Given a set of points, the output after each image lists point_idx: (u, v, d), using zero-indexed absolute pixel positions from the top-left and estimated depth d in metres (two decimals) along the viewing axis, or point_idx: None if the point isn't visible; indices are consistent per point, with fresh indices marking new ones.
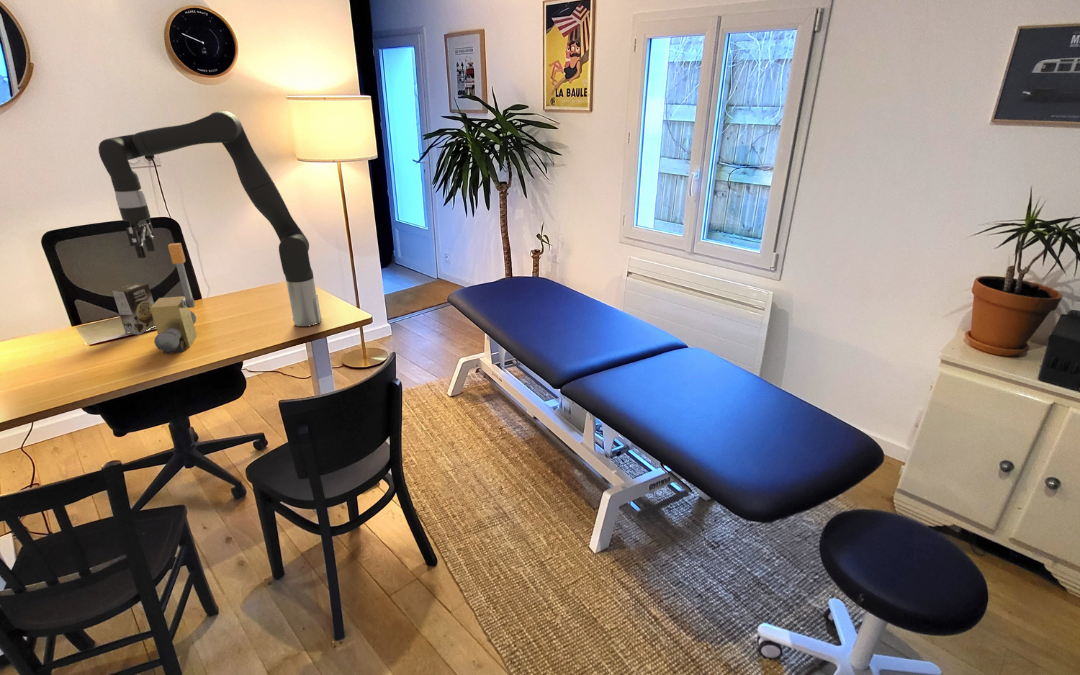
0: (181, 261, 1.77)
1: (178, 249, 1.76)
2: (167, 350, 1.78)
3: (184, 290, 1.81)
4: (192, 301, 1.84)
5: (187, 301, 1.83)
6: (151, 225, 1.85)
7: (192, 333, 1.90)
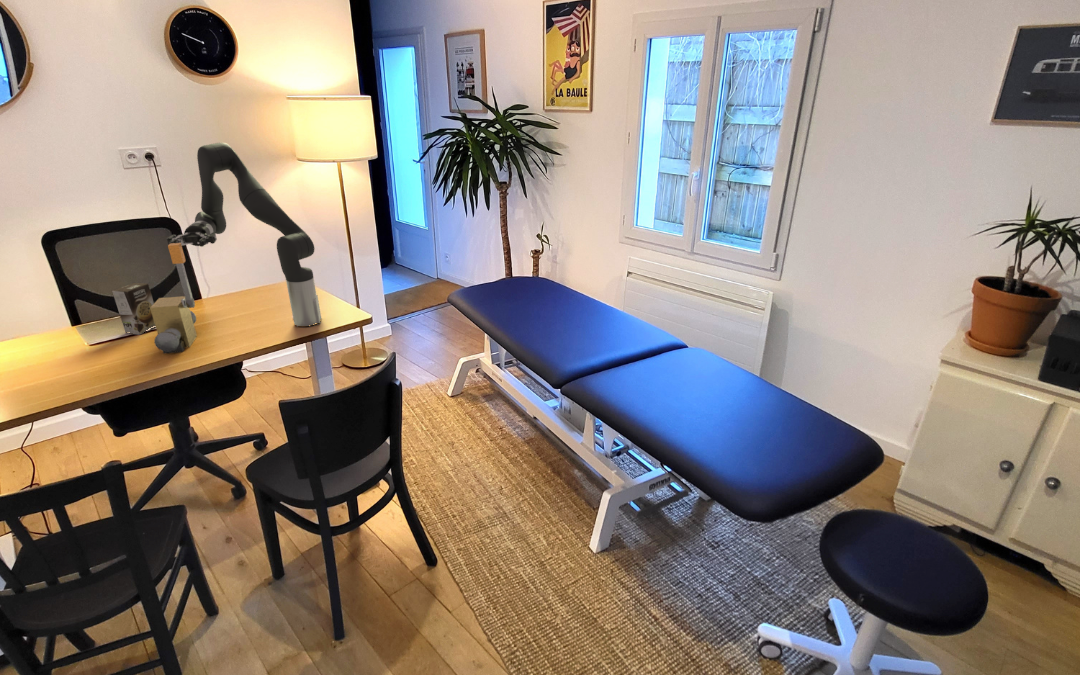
0: (181, 261, 1.77)
1: (178, 249, 1.76)
2: (167, 350, 1.78)
3: (184, 290, 1.81)
4: (192, 301, 1.84)
5: (187, 301, 1.83)
6: (213, 234, 1.95)
7: (192, 333, 1.90)
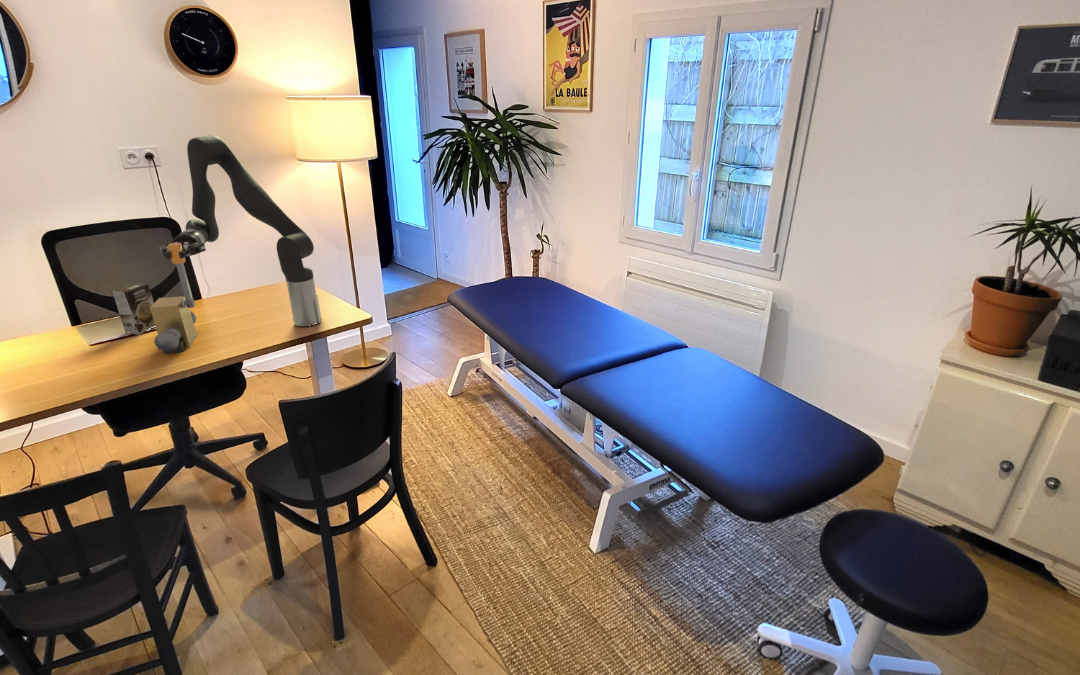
0: (181, 261, 1.77)
1: (178, 249, 1.76)
2: (167, 350, 1.78)
3: (184, 290, 1.81)
4: (192, 301, 1.84)
5: (187, 301, 1.83)
6: (199, 245, 1.82)
7: (192, 333, 1.90)
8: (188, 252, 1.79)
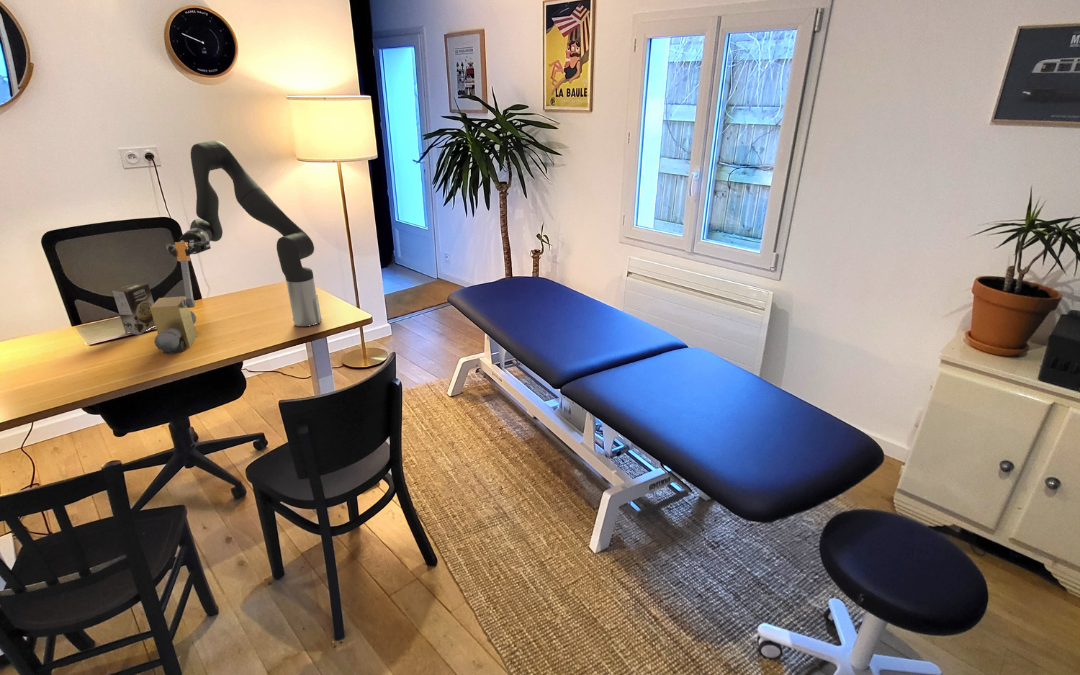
0: (186, 258, 1.82)
1: (184, 246, 1.81)
2: (167, 350, 1.78)
3: (186, 288, 1.83)
4: (192, 301, 1.84)
5: (187, 300, 1.83)
6: (204, 243, 1.88)
7: (192, 333, 1.90)
8: (194, 250, 1.84)
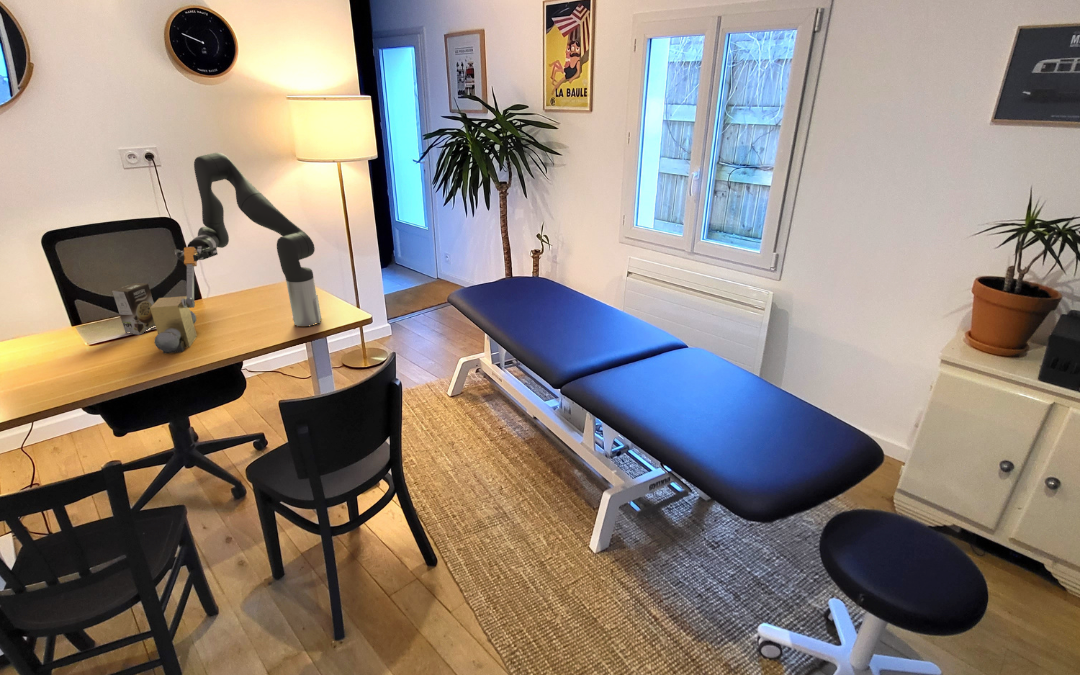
0: (192, 261, 1.87)
1: (192, 250, 1.89)
2: (167, 350, 1.78)
3: (188, 289, 1.85)
4: (192, 301, 1.84)
5: (187, 298, 1.83)
6: (211, 249, 1.95)
7: (192, 333, 1.90)
8: (201, 255, 1.91)
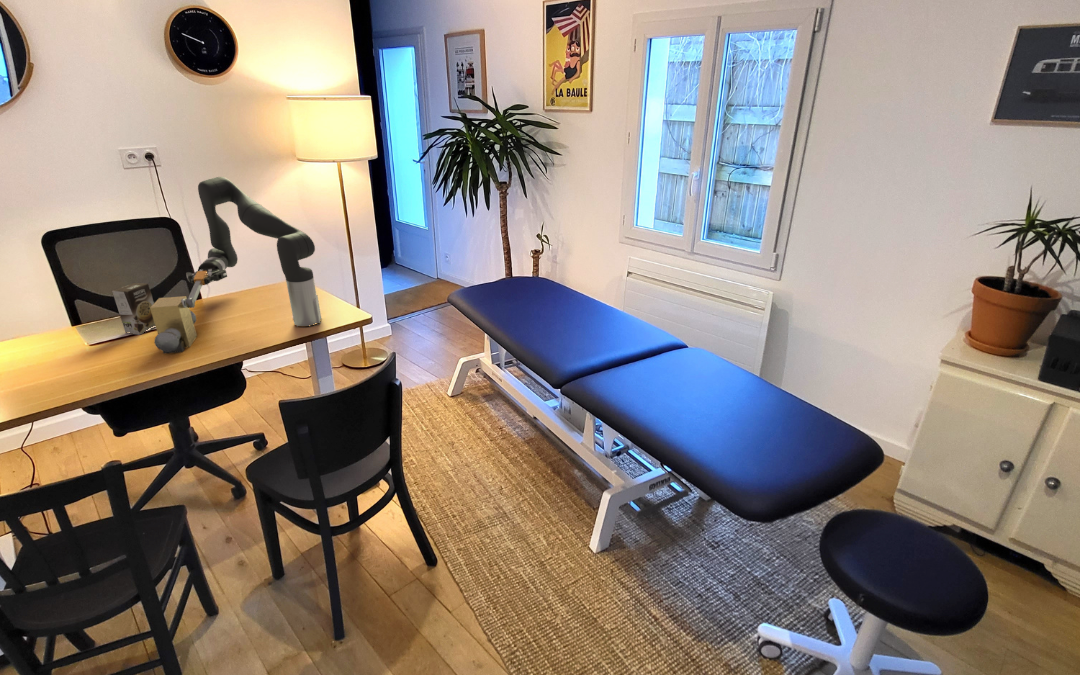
0: (202, 278, 1.95)
1: (204, 272, 1.98)
2: (167, 350, 1.78)
3: (191, 293, 1.87)
4: (193, 301, 1.85)
5: (188, 298, 1.84)
6: (221, 272, 2.03)
7: (192, 333, 1.90)
8: (212, 278, 2.00)
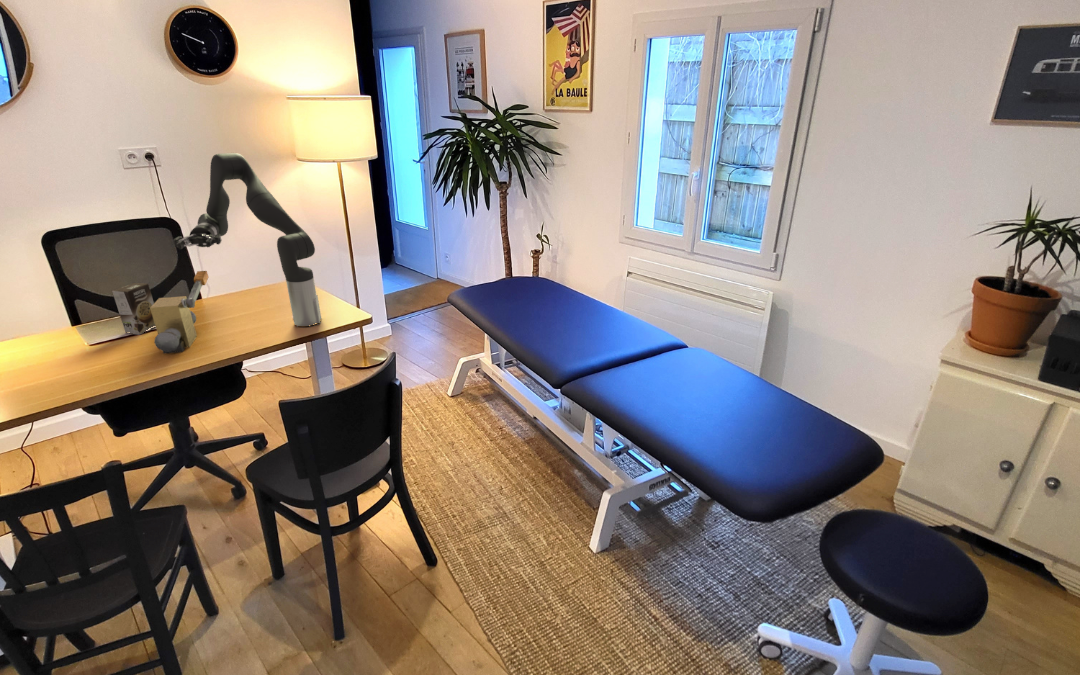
0: (202, 278, 1.95)
1: (204, 272, 1.98)
2: (167, 350, 1.78)
3: (191, 293, 1.87)
4: (193, 301, 1.85)
5: (188, 298, 1.84)
6: (218, 235, 2.01)
7: (192, 333, 1.90)
8: (213, 242, 1.98)
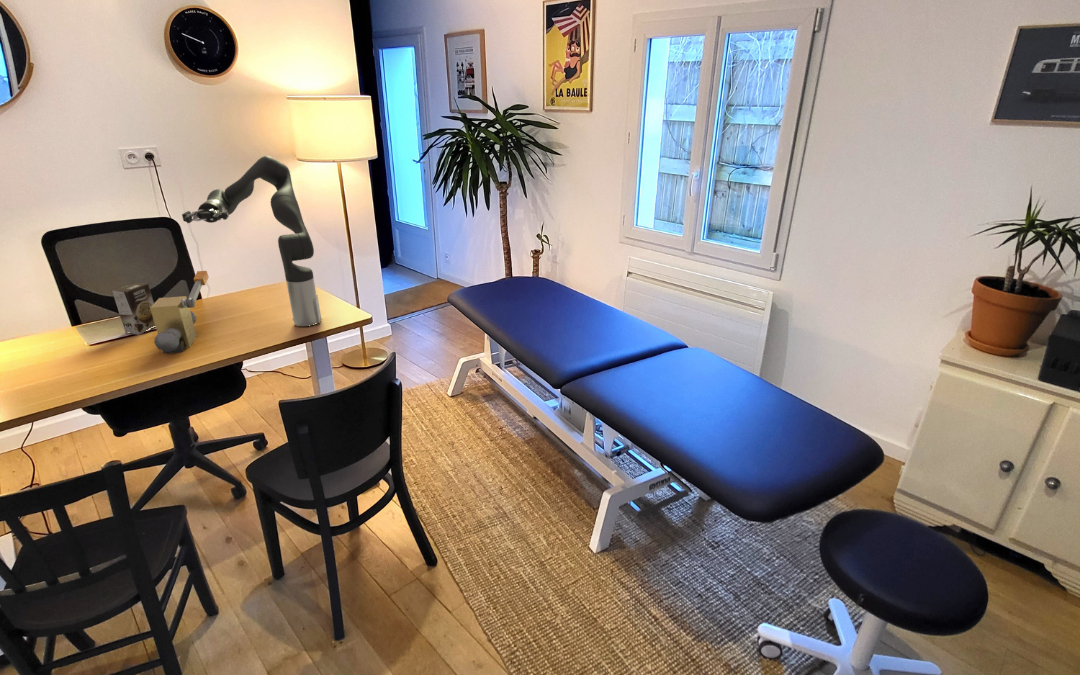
0: (202, 278, 1.95)
1: (204, 272, 1.98)
2: (167, 350, 1.78)
3: (191, 293, 1.87)
4: (193, 301, 1.85)
5: (188, 298, 1.84)
6: (225, 211, 2.06)
7: (192, 333, 1.90)
8: (220, 217, 2.03)
